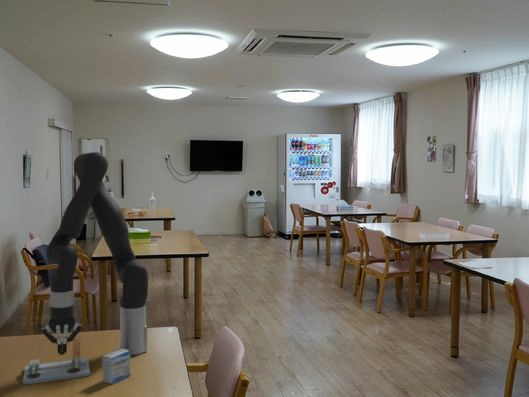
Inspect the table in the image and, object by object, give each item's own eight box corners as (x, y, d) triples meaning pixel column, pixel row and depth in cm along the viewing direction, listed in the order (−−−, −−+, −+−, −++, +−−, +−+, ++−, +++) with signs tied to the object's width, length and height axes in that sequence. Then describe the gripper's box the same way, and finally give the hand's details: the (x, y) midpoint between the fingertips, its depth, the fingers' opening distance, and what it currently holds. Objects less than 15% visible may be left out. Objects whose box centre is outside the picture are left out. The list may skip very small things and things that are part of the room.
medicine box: (111, 385, 162) (111, 358, 161) (102, 381, 164) (102, 355, 164) (130, 376, 169) (130, 350, 168) (121, 372, 171) (120, 347, 170)
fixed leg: (39, 366, 171) (39, 359, 171) (38, 374, 165) (38, 367, 165) (29, 367, 170) (29, 360, 170) (28, 376, 164) (28, 368, 164)
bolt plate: (88, 361, 179) (88, 356, 179) (90, 375, 168) (89, 369, 168) (25, 369, 172) (25, 363, 172) (22, 384, 161) (22, 378, 161)
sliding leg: (81, 360, 176) (80, 335, 175) (81, 368, 170) (81, 343, 169) (71, 362, 175) (71, 336, 174) (72, 370, 168) (71, 344, 168)
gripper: (82, 298, 176) (82, 347, 177) (40, 301, 171) (41, 352, 173) (83, 305, 169) (83, 356, 170) (39, 308, 164) (40, 360, 166)
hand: (62, 354), depth 171 cm, fingers closed
